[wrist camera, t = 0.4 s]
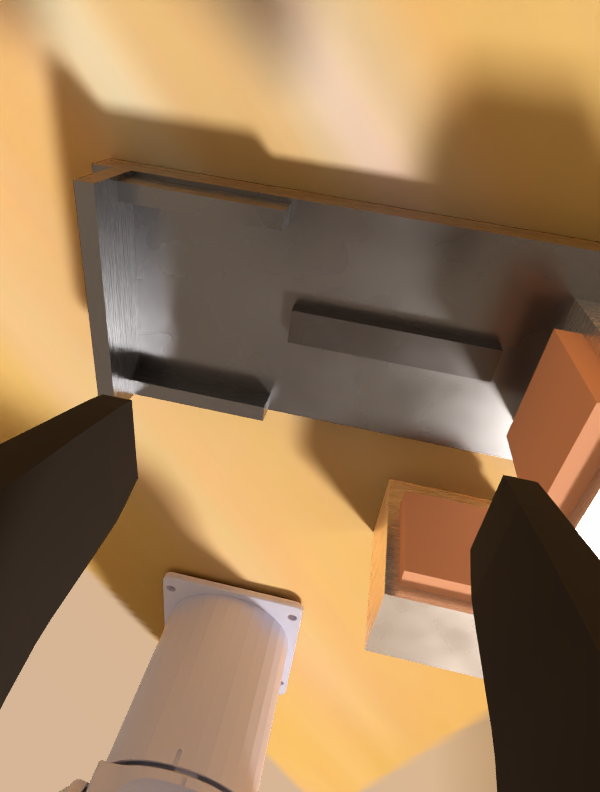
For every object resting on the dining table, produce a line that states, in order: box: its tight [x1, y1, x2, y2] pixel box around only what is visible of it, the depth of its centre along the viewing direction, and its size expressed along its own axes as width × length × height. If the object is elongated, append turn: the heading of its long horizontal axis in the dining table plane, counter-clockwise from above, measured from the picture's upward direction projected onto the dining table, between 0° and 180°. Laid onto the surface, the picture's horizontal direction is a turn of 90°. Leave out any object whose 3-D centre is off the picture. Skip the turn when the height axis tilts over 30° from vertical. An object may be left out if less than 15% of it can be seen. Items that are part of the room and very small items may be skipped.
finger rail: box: [73, 158, 600, 559], centre depth 15 cm, size 21×8×7 cm, turn 83°
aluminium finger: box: [365, 479, 492, 679], centre depth 20 cm, size 4×5×6 cm
